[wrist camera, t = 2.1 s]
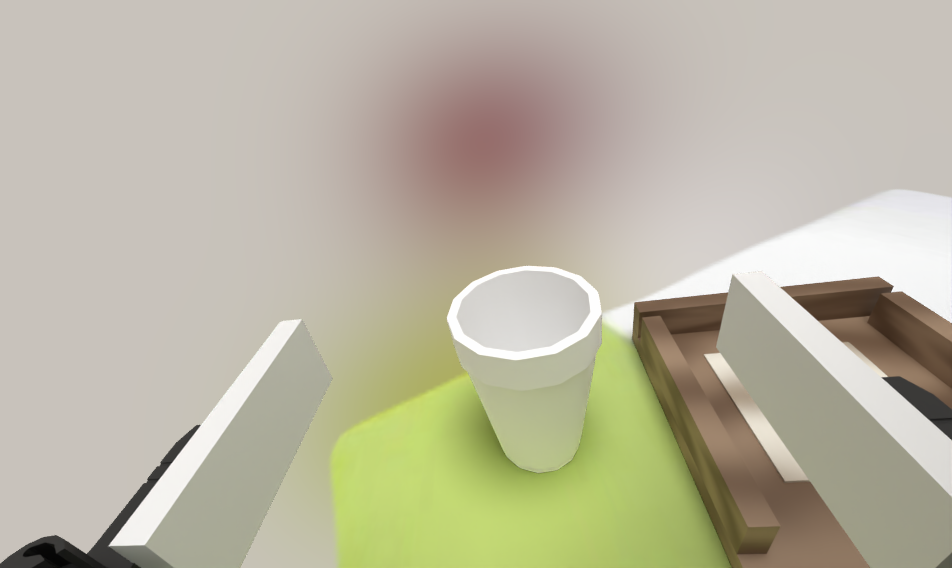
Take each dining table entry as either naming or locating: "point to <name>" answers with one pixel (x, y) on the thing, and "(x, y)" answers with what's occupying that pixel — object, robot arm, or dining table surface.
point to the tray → (750, 434)
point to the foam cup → (530, 358)
